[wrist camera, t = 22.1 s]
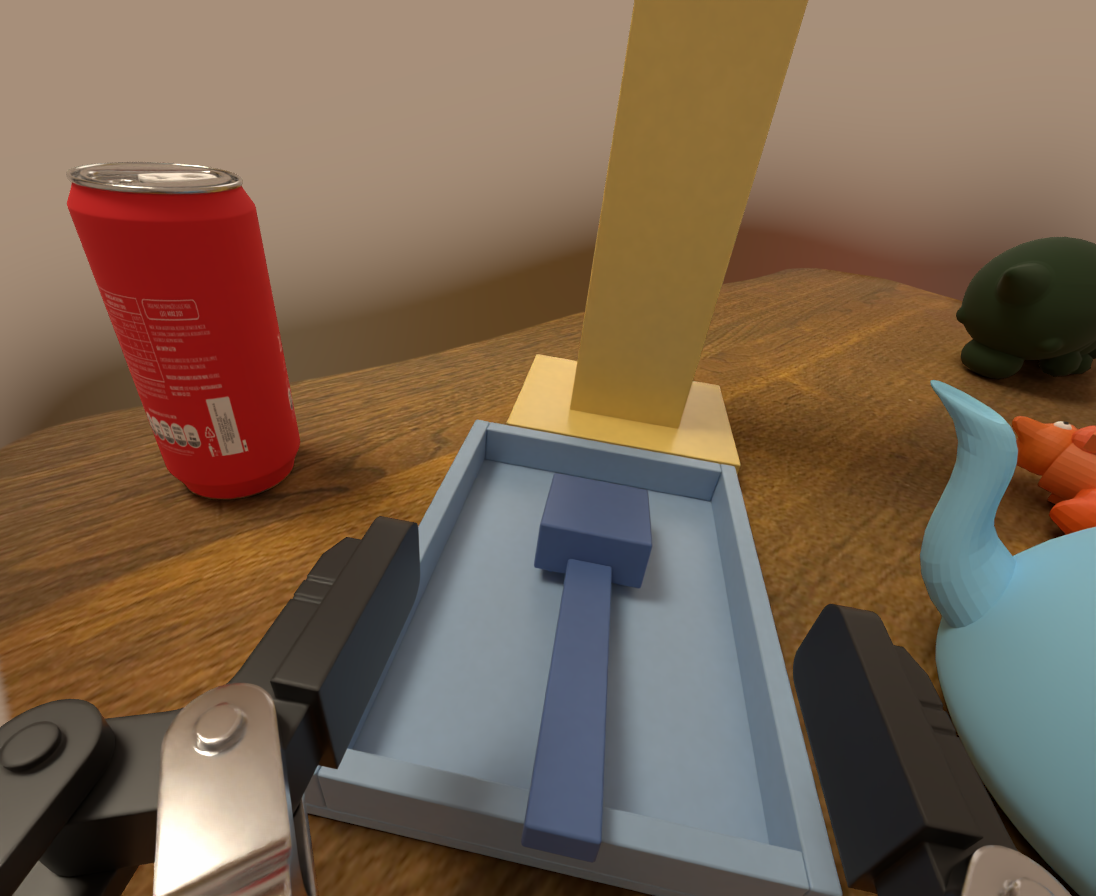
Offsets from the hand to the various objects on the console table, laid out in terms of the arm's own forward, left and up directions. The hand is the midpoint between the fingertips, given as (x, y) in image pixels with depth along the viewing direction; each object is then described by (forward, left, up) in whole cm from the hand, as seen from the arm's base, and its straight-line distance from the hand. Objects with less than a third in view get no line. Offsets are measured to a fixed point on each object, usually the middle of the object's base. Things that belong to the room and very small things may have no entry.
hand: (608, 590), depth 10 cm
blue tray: (0, +6, -8) cm, 9 cm away
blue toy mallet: (0, +4, -6) cm, 7 cm away
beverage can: (-16, +10, -8) cm, 20 cm away
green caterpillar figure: (+37, +43, -8) cm, 57 cm away
